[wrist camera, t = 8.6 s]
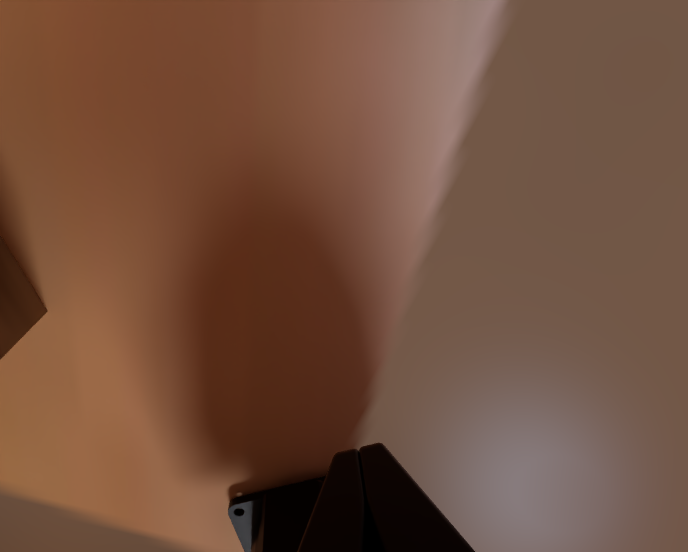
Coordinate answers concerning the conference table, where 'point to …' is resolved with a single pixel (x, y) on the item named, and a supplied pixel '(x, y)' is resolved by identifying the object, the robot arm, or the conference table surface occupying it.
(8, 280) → the walnut block
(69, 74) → the conference table surface
